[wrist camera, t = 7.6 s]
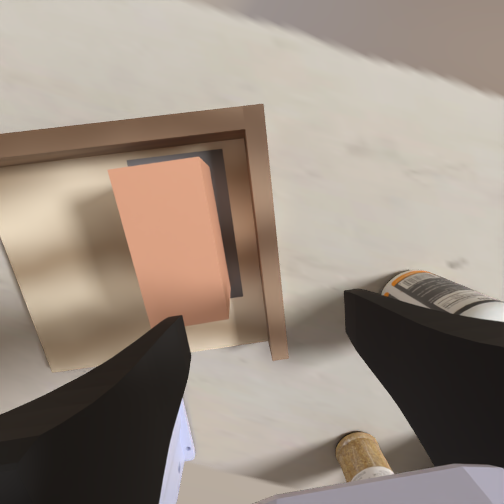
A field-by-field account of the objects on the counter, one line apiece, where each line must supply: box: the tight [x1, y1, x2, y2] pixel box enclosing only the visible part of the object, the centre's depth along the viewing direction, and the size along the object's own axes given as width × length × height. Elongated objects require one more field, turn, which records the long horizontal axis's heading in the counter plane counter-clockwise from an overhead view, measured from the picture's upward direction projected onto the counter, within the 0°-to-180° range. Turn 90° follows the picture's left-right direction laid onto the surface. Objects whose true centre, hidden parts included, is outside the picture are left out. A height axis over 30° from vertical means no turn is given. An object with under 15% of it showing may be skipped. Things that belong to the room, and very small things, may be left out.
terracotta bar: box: [108, 157, 231, 329], centre depth 16 cm, size 9×4×5 cm, turn 8°
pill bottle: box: [381, 270, 504, 322], centre depth 17 cm, size 6×6×10 cm
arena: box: [0, 104, 289, 373], centre depth 17 cm, size 17×19×4 cm
